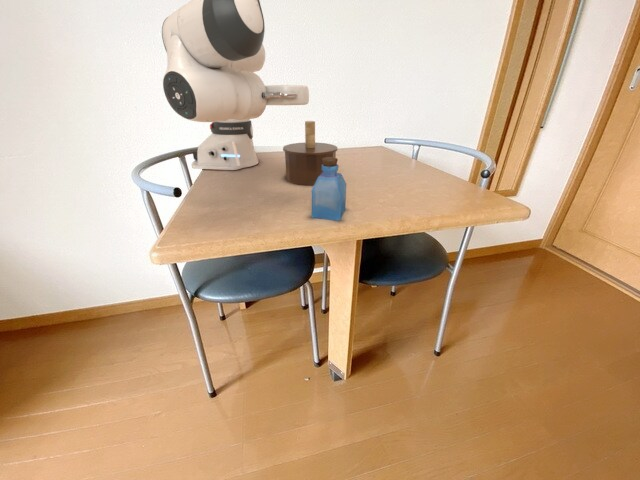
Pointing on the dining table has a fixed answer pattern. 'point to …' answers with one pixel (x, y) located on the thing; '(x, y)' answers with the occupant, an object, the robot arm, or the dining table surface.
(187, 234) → the dining table surface
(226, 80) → the robot arm
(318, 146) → the lid
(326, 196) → the perfume bottle
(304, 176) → the dark brown pot
